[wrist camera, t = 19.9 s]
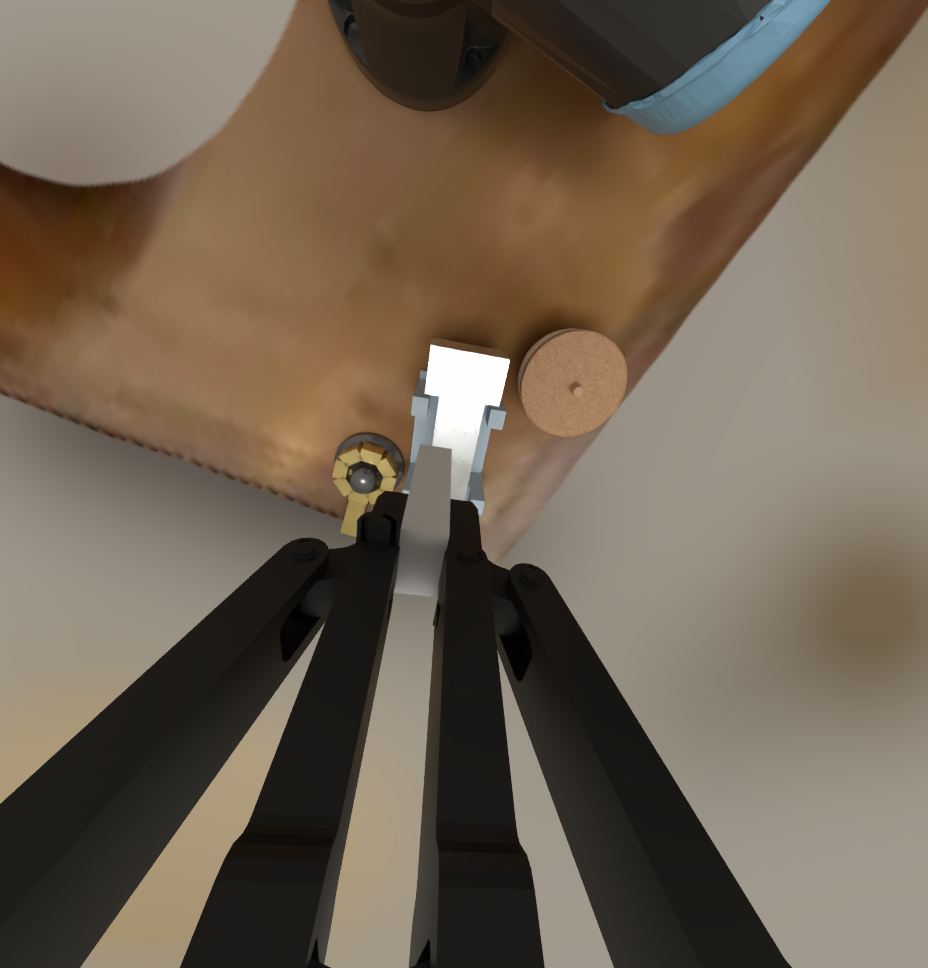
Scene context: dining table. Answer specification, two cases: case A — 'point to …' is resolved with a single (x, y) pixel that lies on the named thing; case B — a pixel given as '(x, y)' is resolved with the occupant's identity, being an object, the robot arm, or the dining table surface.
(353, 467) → the nut base
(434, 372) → the white t-shaped plate
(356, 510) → the gold box wrench
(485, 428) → the rack
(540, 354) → the lidded jar
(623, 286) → the dining table surface
